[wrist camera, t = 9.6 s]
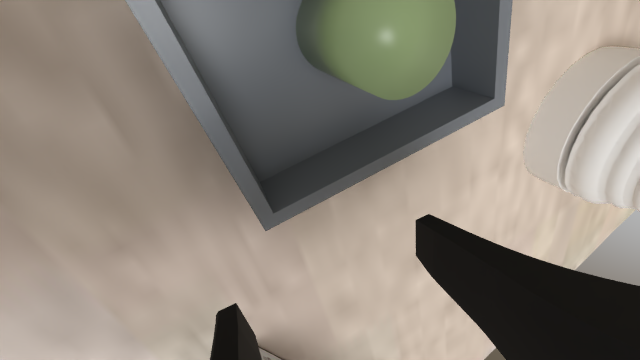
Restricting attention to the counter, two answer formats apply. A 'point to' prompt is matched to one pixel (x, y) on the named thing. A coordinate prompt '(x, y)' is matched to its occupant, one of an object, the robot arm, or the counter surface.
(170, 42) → the bin
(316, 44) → the cucumber chunk
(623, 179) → the honey pot
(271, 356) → the supplement box
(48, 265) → the counter surface
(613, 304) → the robot arm
